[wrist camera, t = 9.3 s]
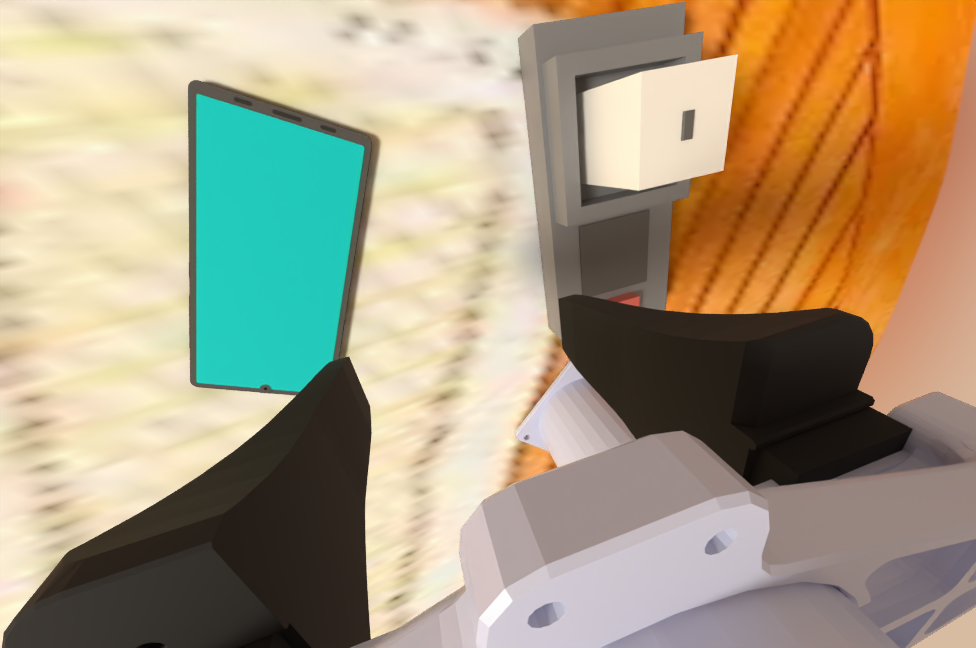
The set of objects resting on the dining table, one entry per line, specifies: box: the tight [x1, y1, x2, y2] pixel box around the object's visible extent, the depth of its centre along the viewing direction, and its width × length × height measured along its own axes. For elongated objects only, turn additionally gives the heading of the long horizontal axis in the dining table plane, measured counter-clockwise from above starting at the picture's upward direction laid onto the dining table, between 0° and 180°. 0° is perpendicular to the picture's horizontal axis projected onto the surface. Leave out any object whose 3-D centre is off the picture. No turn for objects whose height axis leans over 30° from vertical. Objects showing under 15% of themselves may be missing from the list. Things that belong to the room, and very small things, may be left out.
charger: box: [576, 54, 738, 191], centre depth 16 cm, size 4×4×5 cm
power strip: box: [518, 2, 703, 340], centre depth 20 cm, size 20×8×4 cm, turn 11°
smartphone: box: [188, 80, 372, 395], centre depth 18 cm, size 7×1×15 cm
